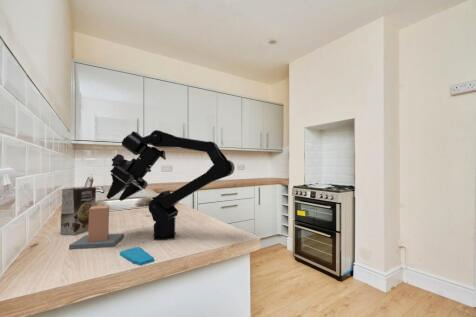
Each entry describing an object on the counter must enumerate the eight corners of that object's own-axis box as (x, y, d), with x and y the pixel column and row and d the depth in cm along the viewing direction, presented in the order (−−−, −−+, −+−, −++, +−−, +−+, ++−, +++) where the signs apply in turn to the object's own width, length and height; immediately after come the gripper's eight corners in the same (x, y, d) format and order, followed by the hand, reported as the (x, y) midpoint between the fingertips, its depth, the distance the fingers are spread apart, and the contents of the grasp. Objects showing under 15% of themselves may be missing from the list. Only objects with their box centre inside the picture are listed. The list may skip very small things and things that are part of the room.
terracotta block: (108, 235, 76) (109, 205, 76) (106, 240, 71) (107, 207, 72) (90, 237, 74) (91, 206, 74) (88, 242, 69) (88, 209, 70)
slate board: (124, 236, 79) (124, 233, 79) (113, 246, 69) (113, 242, 69) (85, 238, 77) (85, 234, 77) (69, 249, 67) (69, 245, 67)
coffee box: (74, 235, 80) (76, 189, 81) (59, 234, 81) (61, 188, 82) (95, 228, 89) (96, 187, 90) (81, 227, 90) (82, 186, 91)
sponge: (131, 265, 55) (155, 256, 58) (118, 251, 64) (139, 244, 67) (131, 271, 55) (155, 262, 58) (118, 256, 64) (140, 249, 67)
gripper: (136, 155, 90) (108, 188, 86) (115, 140, 72) (78, 181, 68) (158, 171, 89) (131, 205, 85) (143, 160, 71) (108, 203, 67)
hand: (114, 199), depth 76 cm, fingers open, 9 cm apart
